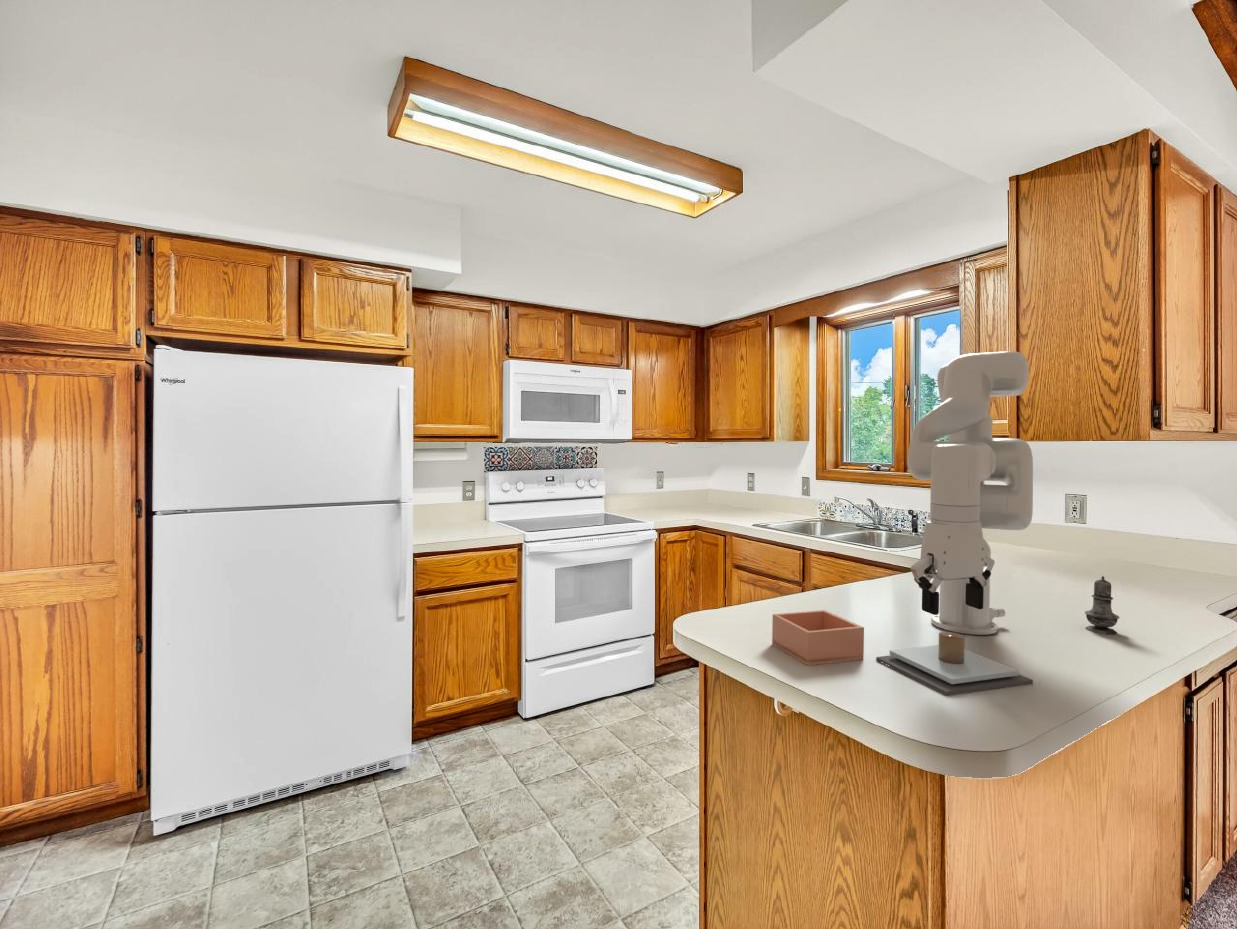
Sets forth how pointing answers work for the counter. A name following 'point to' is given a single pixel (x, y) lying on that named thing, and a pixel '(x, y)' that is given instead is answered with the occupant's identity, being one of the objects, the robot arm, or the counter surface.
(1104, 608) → the salt shaker
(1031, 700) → the counter surface
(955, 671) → the lid
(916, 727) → the counter surface
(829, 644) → the open storage tray
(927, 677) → the mat
